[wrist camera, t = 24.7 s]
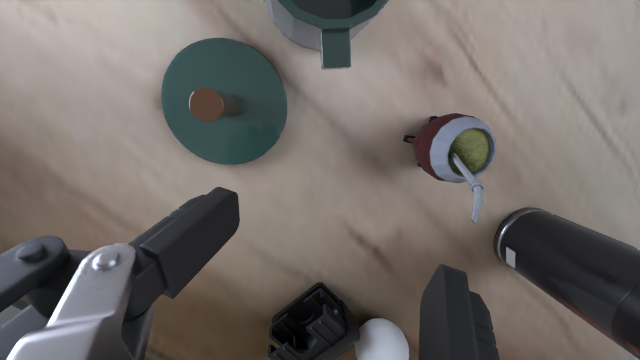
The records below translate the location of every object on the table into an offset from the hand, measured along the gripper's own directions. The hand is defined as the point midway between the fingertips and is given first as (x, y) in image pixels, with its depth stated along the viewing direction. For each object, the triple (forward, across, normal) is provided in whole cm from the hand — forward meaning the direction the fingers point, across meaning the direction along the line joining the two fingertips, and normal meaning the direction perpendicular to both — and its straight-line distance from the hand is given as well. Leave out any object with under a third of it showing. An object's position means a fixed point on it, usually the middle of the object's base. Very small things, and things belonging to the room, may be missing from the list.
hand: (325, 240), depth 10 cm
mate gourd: (+26, -5, +5) cm, 26 cm away
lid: (+15, +16, +2) cm, 23 cm away
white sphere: (+17, -7, +32) cm, 37 cm away
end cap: (+13, +3, +29) cm, 32 cm away
